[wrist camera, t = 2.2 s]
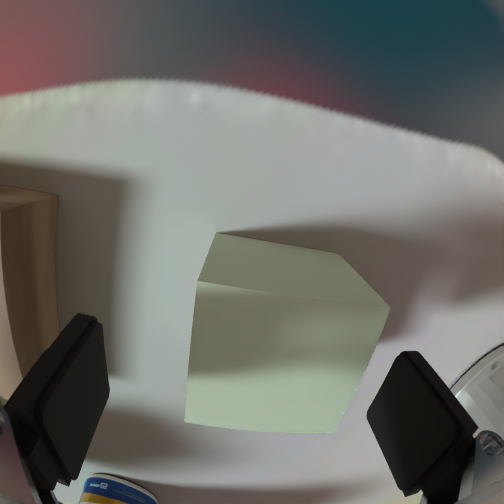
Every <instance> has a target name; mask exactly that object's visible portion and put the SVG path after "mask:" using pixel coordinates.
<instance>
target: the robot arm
mask: <svg viewBox="0 0 504 504" xmlns="http://www.w3.org/2000/svg"><path fill="white" fill-rule="evenodd" d="M109 392H110V388H109V381H108V374H107V366H106V358H105V349H104V338H103V327H102V324H101V323H98V321H97V318H96V317H94V316H90V315H86V314H82V313H77V314H76V315H75V316H74V318H73V319H72V320H71V321H70V322H69V323H68V325H67V326H66V327H65V328H64V330H63V331H62V332H61V333H60V334H59V336H58V337H57V338H56V339H55V341H54V342H53V343H52V344H51V346H50V347H49V348H48V349H46V350H45V351H44V352H43V353H42V355H41V356H40V357H39V359H38V360H37V361H36V362H35V364H34V365H33V366H32V368H31V369H30V370H29V372H28V373H27V374H26V376H25V377H24V378H23V380H22V381H21V383H20V384H19V385H18V387H17V388H16V390H15V391H14V392H13V394H12V395H11V397H10V398H9V400H8V401H7V402H6V404H5V405H4V407H1V406H0V504H59V503H58V501H57V499H56V497H55V494H54V492H53V490H54V489H55V486H56V483H57V482H59V483H61V484H63V485H66V486H69V485H70V482H71V479H72V480H76V479H77V478H78V476H79V473H80V470H81V467H82V464H83V462H84V459H85V456H86V453H87V451H88V448H89V445H90V443H91V440H92V437H93V435H94V432H95V430H96V427H97V425H98V422H99V420H100V417H101V415H102V412H103V410H104V407H105V405H106V403H107V400H108V397H109ZM367 420H368V422H369V424H370V426H371V429H372V431H373V433H374V435H375V437H376V439H377V441H378V444H379V446H380V448H381V450H382V452H383V455H384V457H385V459H386V461H387V463H388V466H389V468H390V470H391V472H392V475H393V477H394V479H395V481H396V484H397V486H398V488H399V489H400V490H402V491H403V493H404V495H405V497H407V496H410V495H413V494H416V493H418V492H419V491H420V490H421V489H422V491H423V494H422V498H421V501H420V504H504V346H501V347H499V348H498V349H496V350H494V351H492V352H491V353H489V354H488V355H487V356H485V357H484V358H482V359H481V360H480V361H479V362H478V363H477V364H475V365H474V366H473V367H472V368H471V369H470V370H469V371H468V372H467V373H466V374H465V375H464V376H462V377H461V378H460V380H459V381H458V382H457V383H456V384H455V385H454V386H453V387H452V388H451V389H449V388H448V387H447V385H446V384H445V383H444V382H443V381H442V379H441V378H440V377H439V376H438V374H437V373H436V372H435V371H434V369H433V368H432V367H431V366H430V365H429V363H428V362H427V361H426V360H425V359H424V357H423V356H422V355H421V354H420V353H419V352H418V351H403V352H401V353H400V355H399V356H397V357H396V358H395V360H394V362H393V364H392V366H391V368H390V370H389V372H388V374H387V376H386V378H385V380H384V382H383V384H382V386H381V388H380V389H379V391H378V393H377V395H376V397H375V398H374V400H373V402H372V404H371V405H370V407H369V409H368V411H367Z"/></svg>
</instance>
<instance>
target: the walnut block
mask: <svg viewBox="0 0 504 504" xmlns="http://www.w3.org/2000/svg"><path fill="white" fill-rule="evenodd" d="M58 198H59V195H53V194H48V193H43V192H37V191H32V190H27V189H21V188H16V187H10V186H5V185H0V396H1V397H3V398H4V399H6V400H9V398H10V397H11V395H12V394H13V392H14V391H15V390H16V388H17V387H18V385H19V384H20V383H21V381H22V380H23V378H24V377H25V376H26V374H27V373H28V372H29V370H30V369H31V368H32V366H33V365H34V364H35V362H36V361H37V360H38V359H39V357H40V356H41V355H42V353H43V352H44V351H45V350H46V349H48V348H49V347H50V346H51V344H52V343H53V342H54V341H55V339H56V338H57V337H58V336H59V334H60V331H59V321H58V310H57V294H56V226H57V210H58Z"/></svg>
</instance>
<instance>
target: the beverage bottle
mask: <svg viewBox="0 0 504 504" xmlns="http://www.w3.org/2000/svg"><path fill="white" fill-rule="evenodd" d="M79 504H158V501H157V499H156V498H155V497H154V496H153V495H152V494H151V493H150V492H148V491H147V490H145V489H143V488H142V487H140V486H138V485H136V484H133V483H131V482H129V481H126V480H123V479H120V478H117V477H114V476H109V475H104V474H93V475H90V476H89V477H88V478H87V479H86V482H85V484H84V489H83V492H82V495H81V498H80V501H79Z"/></svg>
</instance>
